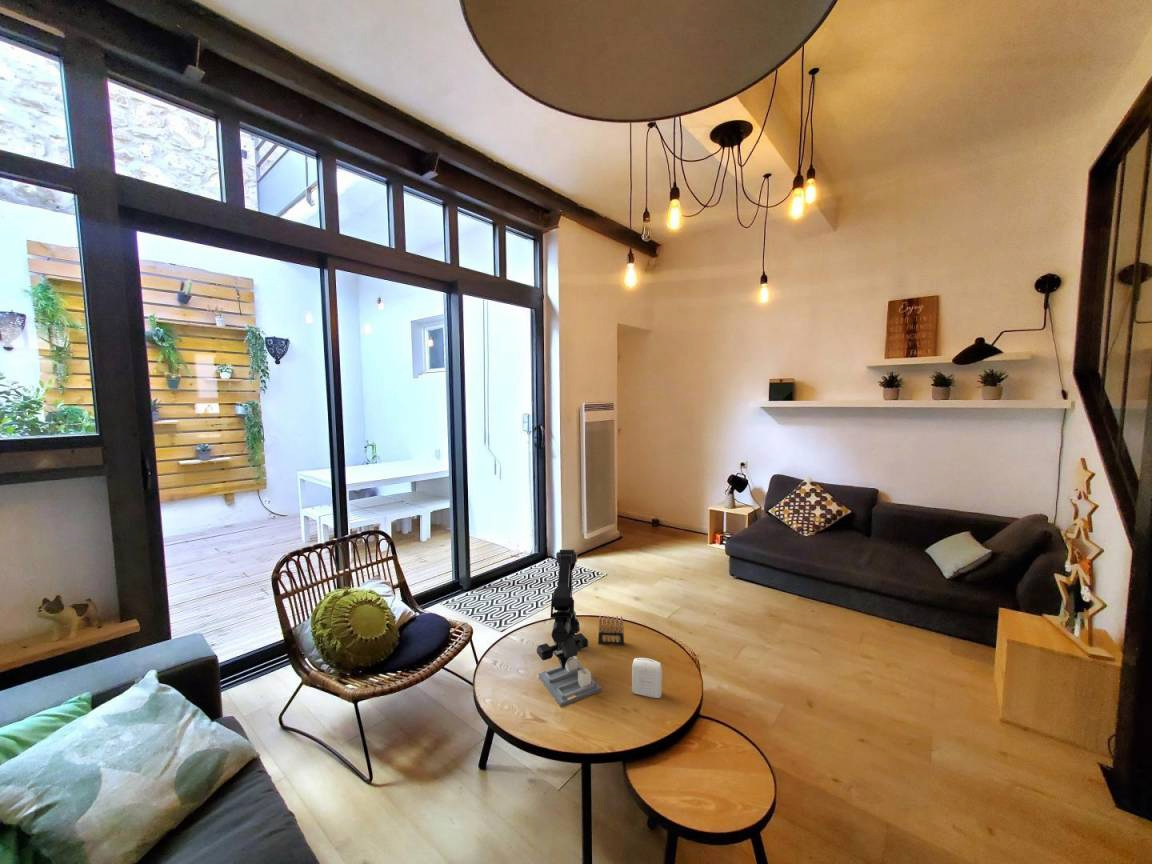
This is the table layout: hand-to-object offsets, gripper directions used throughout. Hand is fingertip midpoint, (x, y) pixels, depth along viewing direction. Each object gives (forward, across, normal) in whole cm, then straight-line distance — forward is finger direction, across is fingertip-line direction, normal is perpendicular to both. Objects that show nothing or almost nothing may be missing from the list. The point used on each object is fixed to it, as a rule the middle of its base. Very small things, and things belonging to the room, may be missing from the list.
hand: (563, 668), depth 164 cm
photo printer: (+3, +21, -23) cm, 31 cm away
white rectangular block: (+2, +4, 0) cm, 4 cm away
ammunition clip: (+3, +27, +9) cm, 29 cm away
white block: (+2, +3, -10) cm, 11 cm away
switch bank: (+3, 0, -5) cm, 6 cm away
